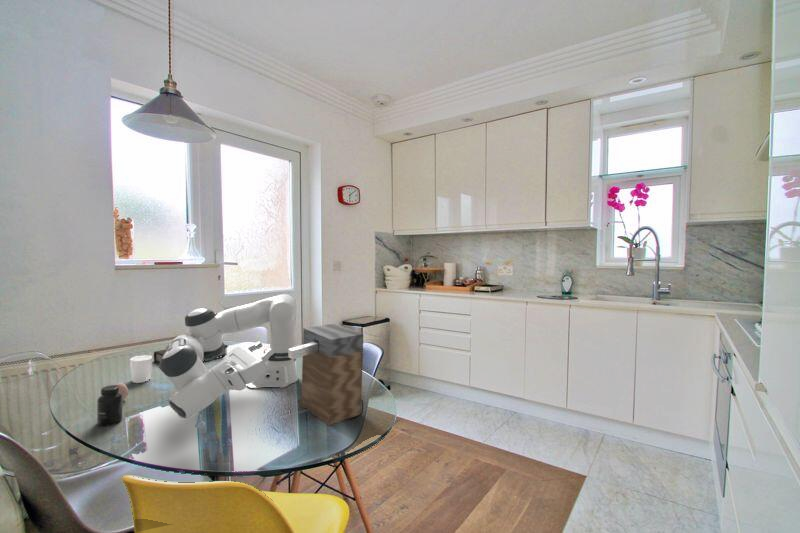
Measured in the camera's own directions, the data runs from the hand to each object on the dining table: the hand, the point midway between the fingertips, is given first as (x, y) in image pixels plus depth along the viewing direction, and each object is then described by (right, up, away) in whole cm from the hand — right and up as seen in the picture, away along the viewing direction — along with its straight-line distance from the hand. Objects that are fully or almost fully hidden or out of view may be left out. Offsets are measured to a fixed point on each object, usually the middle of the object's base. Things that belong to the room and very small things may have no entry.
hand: (266, 346), depth 120 cm
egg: (-64, -25, +19) cm, 71 cm away
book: (-66, -22, +71) cm, 99 cm away
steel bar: (+13, -4, +12) cm, 18 cm away
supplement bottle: (-55, -27, +4) cm, 61 cm away
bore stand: (+18, -29, +19) cm, 39 cm away
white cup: (-70, -24, +40) cm, 84 cm away
